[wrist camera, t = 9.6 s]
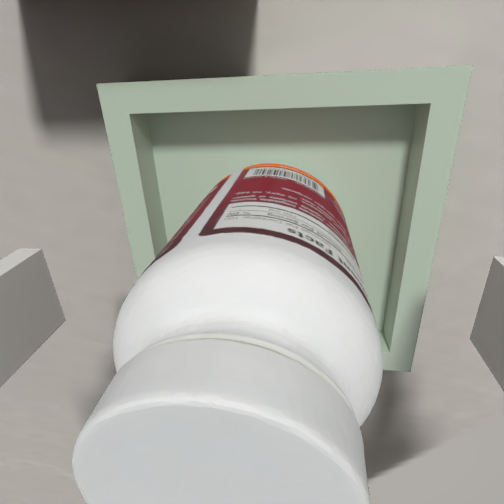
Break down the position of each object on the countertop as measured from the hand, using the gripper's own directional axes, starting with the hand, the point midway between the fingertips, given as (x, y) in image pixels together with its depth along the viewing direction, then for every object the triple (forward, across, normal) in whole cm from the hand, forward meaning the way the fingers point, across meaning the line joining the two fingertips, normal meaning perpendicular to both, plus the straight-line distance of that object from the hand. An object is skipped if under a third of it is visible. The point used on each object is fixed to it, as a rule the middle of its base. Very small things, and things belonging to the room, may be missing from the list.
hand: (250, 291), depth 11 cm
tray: (+6, 0, 0) cm, 6 cm away
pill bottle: (+5, 0, 0) cm, 5 cm away
